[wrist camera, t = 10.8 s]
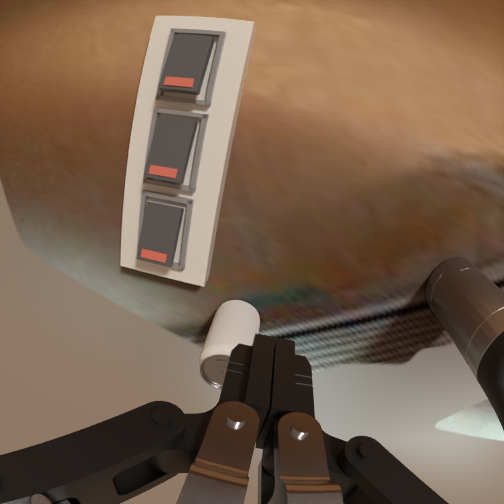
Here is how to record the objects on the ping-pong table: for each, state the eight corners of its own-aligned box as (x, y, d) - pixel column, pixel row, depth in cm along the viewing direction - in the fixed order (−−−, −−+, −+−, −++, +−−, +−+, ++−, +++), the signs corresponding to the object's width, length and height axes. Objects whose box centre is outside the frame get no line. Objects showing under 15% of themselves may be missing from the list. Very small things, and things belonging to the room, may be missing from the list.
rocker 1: (214, 41, 29) (212, 35, 28) (199, 95, 31) (196, 91, 29) (178, 38, 29) (174, 33, 28) (161, 91, 31) (157, 87, 29)
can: (218, 335, 47) (201, 391, 36) (212, 298, 45) (191, 351, 34) (261, 335, 46) (254, 393, 35) (258, 297, 44) (249, 352, 33)
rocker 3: (184, 208, 37) (181, 207, 36) (172, 266, 38) (169, 267, 36) (150, 202, 37) (146, 201, 36) (139, 258, 38) (135, 259, 36)
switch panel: (256, 29, 31) (253, 19, 28) (209, 276, 43) (202, 289, 40) (164, 22, 31) (153, 14, 28) (129, 257, 44) (117, 267, 40)
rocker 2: (197, 124, 33) (195, 120, 32) (183, 184, 34) (180, 182, 33) (161, 119, 33) (158, 116, 32) (147, 177, 34) (142, 176, 33)
